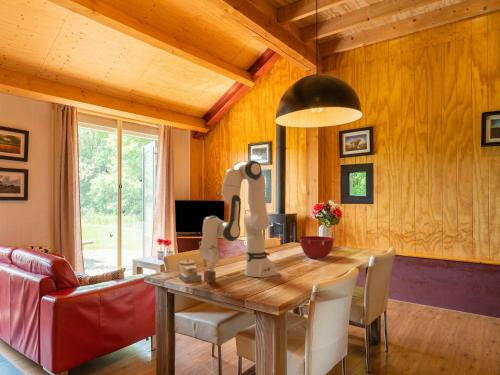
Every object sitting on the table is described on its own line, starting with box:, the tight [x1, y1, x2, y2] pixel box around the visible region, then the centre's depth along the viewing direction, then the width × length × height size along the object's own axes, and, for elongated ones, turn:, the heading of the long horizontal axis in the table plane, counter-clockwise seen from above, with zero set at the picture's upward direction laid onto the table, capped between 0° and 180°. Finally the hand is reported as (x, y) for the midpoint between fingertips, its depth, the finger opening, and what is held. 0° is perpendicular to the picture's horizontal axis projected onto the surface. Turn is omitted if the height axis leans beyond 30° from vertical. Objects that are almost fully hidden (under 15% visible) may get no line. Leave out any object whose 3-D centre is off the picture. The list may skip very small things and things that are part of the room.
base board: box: [178, 272, 203, 283], centre depth 189 cm, size 10×10×3 cm
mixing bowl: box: [298, 235, 335, 259], centre depth 261 cm, size 28×28×16 cm
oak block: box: [184, 266, 198, 276], centre depth 189 cm, size 6×6×4 cm
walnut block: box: [203, 269, 217, 284], centre depth 184 cm, size 5×5×6 cm
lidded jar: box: [178, 258, 197, 273], centre depth 201 cm, size 11×11×9 cm
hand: (208, 268), depth 184 cm, fingers open, 8 cm apart
